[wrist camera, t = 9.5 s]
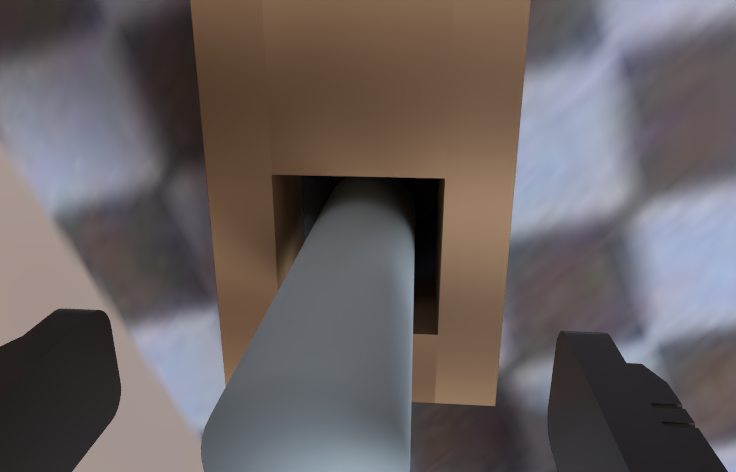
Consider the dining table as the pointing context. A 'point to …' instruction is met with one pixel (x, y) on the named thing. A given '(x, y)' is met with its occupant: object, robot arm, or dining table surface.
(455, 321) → the socket block
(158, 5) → the dining table surface
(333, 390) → the peg
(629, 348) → the dining table surface
